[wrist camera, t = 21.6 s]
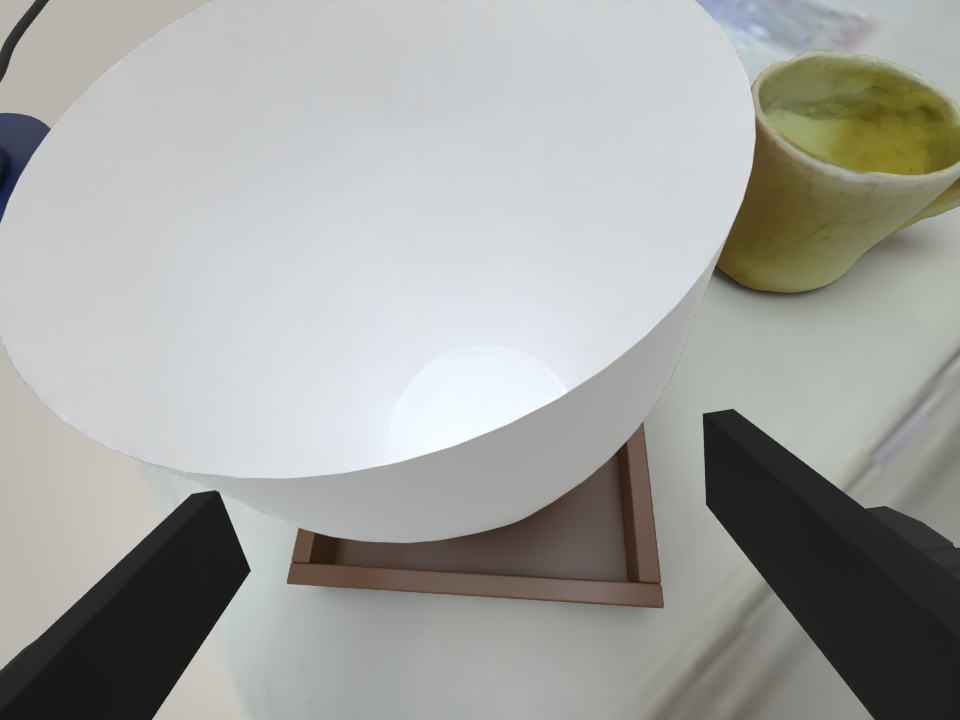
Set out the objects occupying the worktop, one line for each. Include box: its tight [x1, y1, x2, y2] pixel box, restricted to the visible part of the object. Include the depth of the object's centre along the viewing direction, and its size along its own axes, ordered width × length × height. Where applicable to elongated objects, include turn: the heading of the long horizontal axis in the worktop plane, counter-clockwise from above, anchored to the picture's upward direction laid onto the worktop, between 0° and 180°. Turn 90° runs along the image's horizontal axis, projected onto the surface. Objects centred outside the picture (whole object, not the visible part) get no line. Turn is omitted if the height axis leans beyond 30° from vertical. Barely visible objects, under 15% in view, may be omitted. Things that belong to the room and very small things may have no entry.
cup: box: [0, 0, 756, 543], centre depth 15 cm, size 13×13×17 cm
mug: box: [716, 51, 960, 293], centre depth 23 cm, size 12×10×10 cm
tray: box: [287, 422, 664, 608], centre depth 22 cm, size 15×15×3 cm
